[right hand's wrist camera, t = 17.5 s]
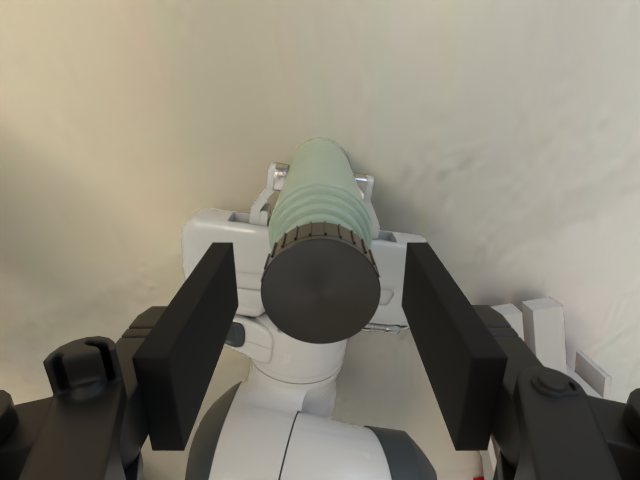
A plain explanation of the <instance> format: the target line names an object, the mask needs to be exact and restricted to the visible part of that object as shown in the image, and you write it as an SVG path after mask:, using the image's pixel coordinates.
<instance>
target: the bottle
mask: <svg viewBox="0 0 640 480" xmlns="http://www.w3.org/2000/svg"><path fill="white" fill-rule="evenodd" d="M324 221H326V223H333V224H337V225H338V224H341V226H343V227H345V228H347V229H349V230H353V231H354V233H355V234H356V235H358V236H359V237H360V238H361V239H362V238H363V239H364V242H365V244H366V245H367V247H368V249H370V248H371V243H372V222H371V218H370V215H369V213H368V210H367V208H366V205H365V202H364V200H363V197H362V195H361V192H360V190H359V187H358V185H357V182H356V180H355V177H354V175H353V172H352V169H351V167H350V164H349V162H348V159H347V157H346V154H345V152H344V151H343V149H342V148H341V147H340V146H339V145H338V144H337V143H335V142H334V141H332V140H329V139H326V138H315V139H311V140H309V141H307V142H305V143H304V144H302V145H301V146H300V147H299V148H298V150H297V151H296V153H295V155H294V158H293V160H292V163H291V165H290V168H289V171H288V173H287V176H286V178H285V181H284V184H283V186H282V189H281V191H280V194H279V197H278V199H277V202H276V204H275V207H274V210H273V212H272V215H271V218H270V222H269V230H268V232H269V243H270V248H271V251H272V249H273V246H274V243H275V242H276V243H277V242H278V241H279V239H280V238H281V237H282V236H283V234H284V233H287V232H289V231H291V230H292V229H294V228H296V226H297V225H298V227H299V226H301V225H304V224H308V223H310V222H312V223H314V222H324Z"/></svg>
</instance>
